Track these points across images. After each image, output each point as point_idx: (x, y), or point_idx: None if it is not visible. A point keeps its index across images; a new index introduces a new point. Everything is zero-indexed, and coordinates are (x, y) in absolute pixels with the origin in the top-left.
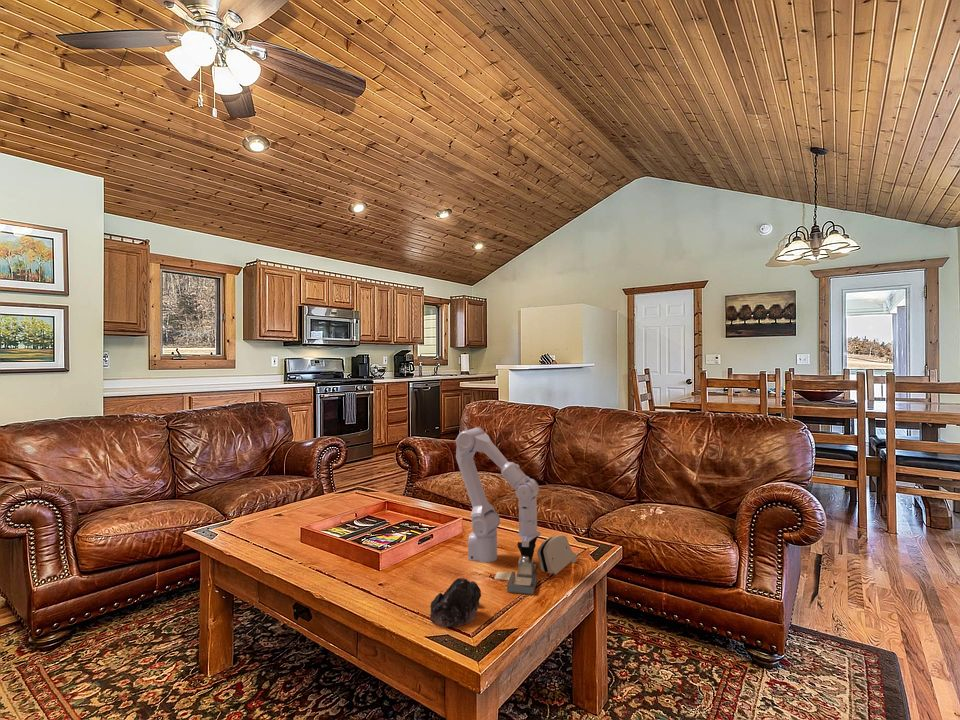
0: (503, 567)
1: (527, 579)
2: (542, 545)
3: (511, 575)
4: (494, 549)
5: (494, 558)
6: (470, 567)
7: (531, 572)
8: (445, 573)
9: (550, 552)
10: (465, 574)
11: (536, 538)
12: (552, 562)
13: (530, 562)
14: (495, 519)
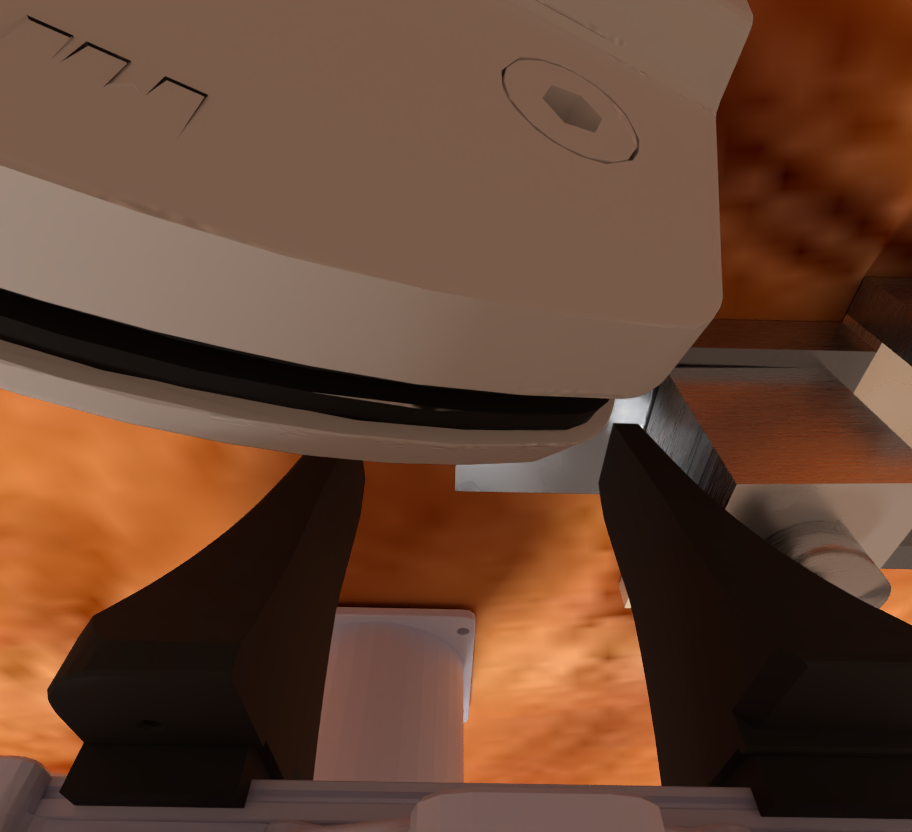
0: (476, 565)
1: (895, 401)
2: (426, 441)
3: (899, 562)
4: (411, 736)
5: (417, 655)
6: (509, 697)
7: (844, 395)
8: (601, 755)
9: (580, 197)
10: (613, 702)
11: (265, 626)
12: (616, 100)
13: (902, 496)
14: None
